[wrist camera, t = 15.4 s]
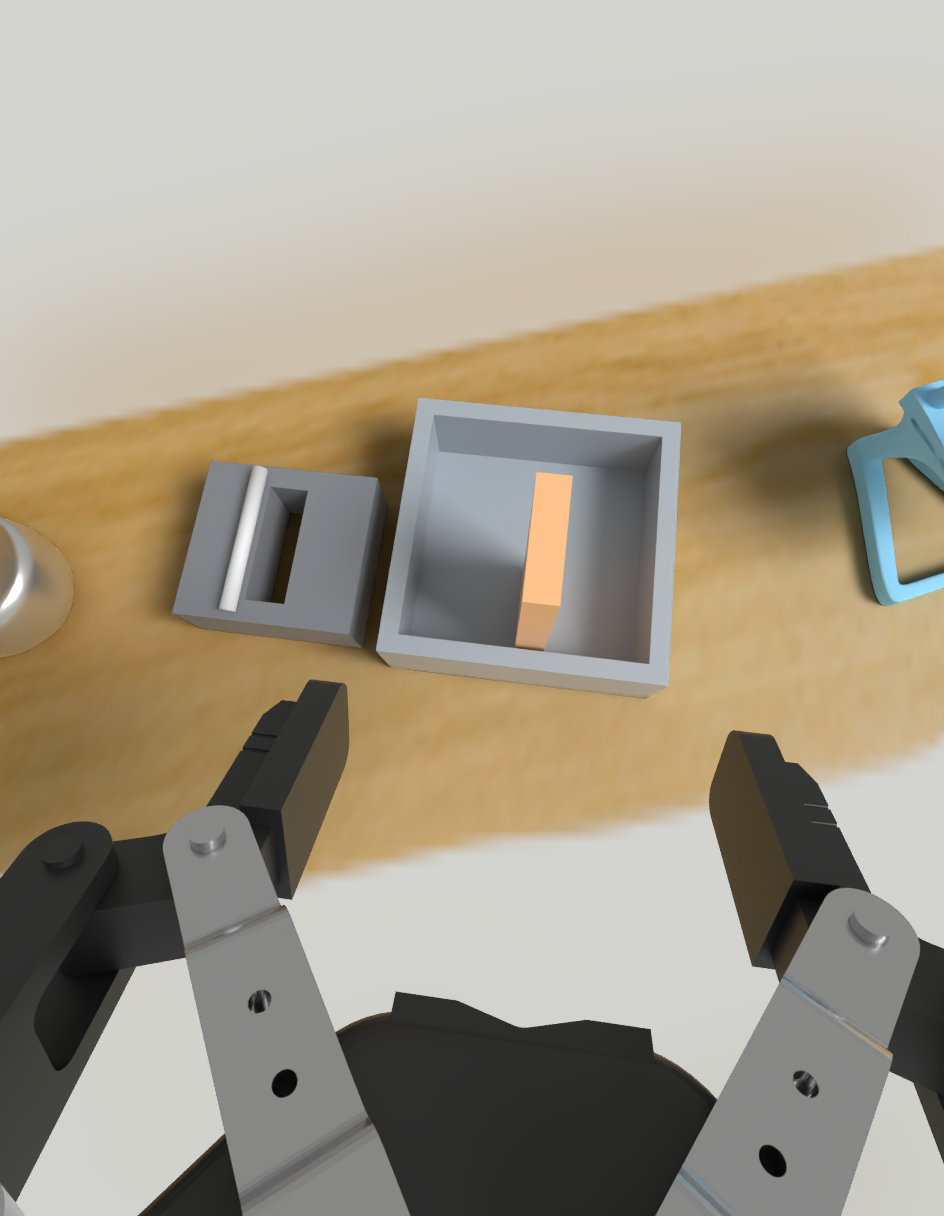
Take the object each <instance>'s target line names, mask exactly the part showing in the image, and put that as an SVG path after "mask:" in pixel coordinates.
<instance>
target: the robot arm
mask: <svg viewBox="0 0 944 1216" xmlns="http://www.w3.org/2000/svg"><path fill="white" fill-rule="evenodd" d="M348 749H349V721H348V698H347V687H346V685H345V684H344V683H337V682H328V681H320V680H309V681H308V683H307V684H306V686H305V688H304V689H303V691H302V693H301V695H300V697H299V698H298V700H297V702H293V701H284V700H282V701H280V702H279V703H278V704H276V705H275V706H274V707H272V708H271V709H270V710H268V711H267V712H266V713H264V714H263V715H262V717H261V718H260V720H259V722H258V723H257V725H256V727H255V728H254V730H253V732H252V735H251V736H249V738H248V740H247V741H246V743H245V745H244V746H243V750H242V751H240V753H239V754H238V756H237V758H236V759H235V761H234V762H233V764H232V766H231V767H230V769H229V771H228V772H227V774H226V775H225V777H224V779H223V780H222V782H221V784H220V785H219V787H218V789H217V790H216V792H215V793H214V795H213V797H212V798H211V800H210V802H209V803H208V805H207V806H206V807H203V808H200V809H197V810H195V811H192V812H190V813H188V814H187V815H185V816H183V817H182V818H181V819H179V820H178V821H177V822H176V823H175V824H174V825H173V826H172V827H171V828H170V829H169V831H168V833H165V834H161V835H156V836H150V837H142V838H135V839H128V840H121V841H112V837H111V835H110V833H109V831H108V830H107V829H106V828H105V827H103V826H102V825H100V824H97V823H94V822H72V823H68V824H64V825H61V826H58V827H55V828H53V829H51V830H49V831H47V832H45V833H43V834H42V835H40V836H39V837H37V838H36V839H34V840H33V841H32V842H31V843H30V844H28V845H27V846H26V847H25V849H24V850H23V851H22V852H21V853H20V854H19V856H18V857H17V858H16V859H15V861H14V862H13V863H12V864H11V866H10V867H9V868H8V869H7V871H6V872H5V873H4V875H3V876H2V877H1V878H0V1216H24V1214H23V1212H22V1211H21V1210H20V1208H19V1207H18V1206H17V1204H16V1201H17V1199H18V1197H19V1195H20V1193H21V1191H22V1189H23V1187H24V1185H25V1183H26V1181H27V1179H28V1177H29V1175H30V1173H31V1171H32V1169H33V1167H34V1165H35V1164H36V1162H37V1159H38V1158H39V1156H40V1154H41V1152H42V1150H43V1148H44V1146H45V1144H46V1142H47V1140H48V1138H49V1136H50V1134H51V1132H52V1130H53V1128H54V1126H55V1124H56V1122H57V1120H58V1118H59V1117H60V1115H61V1113H62V1111H63V1108H64V1106H65V1105H66V1103H67V1101H68V1099H69V1097H70V1095H71V1093H72V1091H73V1089H74V1087H75V1085H76V1083H77V1081H78V1079H79V1077H80V1075H81V1073H82V1072H83V1070H84V1068H85V1066H86V1064H87V1062H88V1060H89V1057H90V1055H91V1054H92V1052H93V1050H94V1048H95V1046H96V1044H97V1042H98V1040H99V1038H100V1036H101V1034H102V1032H103V1030H104V1028H105V1026H106V1025H107V1023H108V1021H109V1019H110V1017H111V1015H112V1013H113V1011H114V1009H115V1007H116V1005H117V1003H118V1001H119V999H120V997H121V995H122V993H123V991H124V989H125V987H126V985H127V983H128V981H129V979H130V977H131V976H132V974H133V972H134V970H135V968H136V966H142V965H147V964H153V963H158V962H164V961H169V960H175V959H180V958H186V960H187V965H188V970H189V974H190V979H191V983H192V988H193V992H194V996H195V1000H196V1006H197V1010H198V1015H199V1019H200V1023H201V1028H202V1032H203V1037H204V1041H205V1046H206V1050H207V1055H208V1059H209V1064H210V1068H211V1073H212V1077H213V1082H214V1086H215V1091H216V1095H217V1100H218V1104H219V1108H220V1113H221V1117H222V1122H223V1126H224V1130H225V1134H224V1135H222V1136H221V1137H220V1138H219V1139H218V1140H217V1141H216V1142H215V1143H214V1144H213V1145H212V1146H211V1147H210V1148H209V1149H208V1150H207V1151H206V1152H205V1153H203V1155H201V1156H200V1157H199V1158H198V1159H197V1160H196V1161H195V1162H194V1163H193V1164H192V1165H191V1166H190V1167H189V1168H188V1169H187V1170H186V1171H184V1172H183V1174H181V1175H180V1176H179V1177H178V1178H177V1179H176V1180H175V1181H174V1182H173V1183H172V1184H171V1185H170V1186H169V1187H168V1188H167V1189H166V1190H165V1191H163V1192H162V1193H161V1194H160V1195H159V1196H158V1197H157V1198H156V1199H155V1200H154V1201H153V1202H152V1203H151V1204H150V1205H149V1206H148V1207H147V1208H145V1210H143V1211H142V1212H141V1213H140V1214H139V1215H138V1216H841V1214H842V1210H843V1208H844V1204H845V1202H846V1199H847V1195H848V1193H849V1189H850V1187H851V1184H852V1181H853V1178H854V1175H855V1171H856V1168H857V1166H858V1162H859V1160H860V1156H861V1153H862V1151H863V1147H864V1145H865V1142H866V1139H867V1136H868V1133H869V1129H870V1127H871V1124H872V1121H873V1118H874V1115H875V1111H876V1108H877V1106H878V1102H879V1100H880V1096H881V1094H882V1091H883V1088H884V1085H885V1082H886V1079H887V1076H888V1073H889V1071H890V1072H892V1073H894V1074H896V1075H899V1076H901V1077H903V1078H905V1079H907V1080H910V1081H911V1082H913V1083H914V1086H915V1088H916V1091H917V1094H918V1096H919V1099H920V1102H921V1104H922V1107H923V1110H924V1112H925V1115H926V1118H927V1120H928V1123H929V1126H930V1128H931V1131H932V1134H933V1136H934V1139H935V1142H936V1144H937V1147H938V1150H939V1152H940V1155H941V1158H942V1160H943V1163H944V949H943V948H941V947H938V946H936V945H933V944H930V943H928V942H926V941H924V940H922V939H920V938H918V937H917V935H916V933H915V931H914V929H913V928H912V926H911V925H910V923H909V922H908V921H907V920H906V918H905V917H904V916H903V915H902V914H901V913H900V912H899V911H898V910H897V909H895V908H894V907H893V906H891V905H890V904H889V903H887V902H886V901H884V900H883V899H881V898H879V897H877V896H875V895H873V894H871V892H870V890H869V888H868V886H867V884H866V882H865V879H864V878H863V875H862V873H861V871H860V869H859V867H858V865H857V863H856V861H855V859H854V857H853V855H852V853H851V851H850V849H849V847H848V845H847V843H846V841H845V839H844V837H843V835H842V832H841V830H840V828H837V822H836V820H835V818H834V816H833V814H832V812H831V810H829V809H828V804H827V802H826V800H825V798H824V796H823V794H822V792H821V790H820V788H819V786H818V784H817V783H816V782H815V781H814V780H813V778H812V777H811V776H810V775H809V774H808V773H807V772H806V771H805V770H804V769H803V768H802V767H801V766H800V765H799V764H798V763H790V762H785V761H784V758H783V756H782V754H781V752H780V749H779V747H778V745H777V743H776V741H775V739H774V737H773V736H772V735H768V734H760V733H752V732H743V731H735V730H733V731H731V732H730V733H729V735H728V737H727V740H726V743H725V745H724V748H723V751H722V754H721V757H720V760H719V763H718V766H717V769H716V772H715V775H714V778H713V781H712V784H711V788H710V795H709V807H710V815H711V819H712V822H713V826H714V830H715V833H716V837H717V840H718V844H719V848H720V851H721V855H722V858H723V862H724V866H725V869H726V873H727V876H728V880H729V884H730V888H731V891H732V895H733V898H734V902H735V906H736V909H737V913H738V917H739V920H740V924H741V927H742V931H743V935H744V938H745V942H746V945H747V949H748V953H749V956H750V960H751V964H752V966H755V967H761V968H768V969H775V970H776V973H777V977H778V980H779V985H778V987H777V989H776V991H775V993H774V995H773V996H772V998H771V1000H770V1002H769V1004H768V1006H767V1008H766V1010H765V1011H764V1013H763V1015H762V1017H761V1019H760V1021H759V1023H758V1025H757V1026H756V1028H755V1030H754V1032H753V1034H752V1036H751V1038H750V1040H749V1042H748V1043H747V1045H746V1047H745V1049H744V1051H743V1053H742V1055H741V1057H740V1058H739V1060H738V1062H737V1064H736V1066H735V1068H734V1070H733V1072H732V1073H731V1075H730V1077H729V1079H728V1081H727V1083H726V1085H725V1087H724V1088H723V1090H722V1092H721V1094H720V1096H719V1098H718V1100H717V1099H716V1098H715V1097H714V1096H713V1095H712V1094H711V1093H710V1092H709V1090H708V1089H707V1088H705V1087H704V1086H703V1085H702V1084H701V1083H700V1082H699V1081H698V1080H697V1079H695V1078H694V1077H693V1076H692V1075H691V1074H689V1073H688V1072H686V1071H685V1070H684V1069H682V1068H681V1067H680V1066H678V1065H676V1064H675V1063H673V1062H671V1061H670V1060H668V1059H666V1058H665V1057H663V1056H661V1055H658V1054H656V1053H654V1052H653V1044H652V1036H651V1029H645V1028H638V1027H631V1026H624V1025H618V1024H611V1023H605V1022H597V1021H591V1020H582V1021H575V1022H568V1023H559V1024H552V1025H545V1026H537V1027H529V1028H520V1027H517V1026H514V1025H511V1024H509V1023H507V1022H504V1021H502V1020H500V1019H498V1018H496V1017H493V1016H491V1015H489V1014H486V1013H484V1012H482V1011H479V1010H477V1009H475V1008H473V1007H470V1006H468V1005H466V1004H464V1003H461V1002H459V1001H456V1000H449V999H442V998H435V997H429V996H422V995H415V994H409V993H401V992H396V993H395V998H394V1003H393V1008H392V1012H387V1013H380V1014H376V1015H373V1016H369V1017H366V1018H363V1019H360V1020H358V1021H356V1022H353V1023H351V1024H349V1025H347V1026H345V1027H344V1028H342V1029H340V1030H338V1031H337V1032H335V1031H334V1028H333V1025H332V1023H331V1020H330V1018H329V1015H328V1012H327V1010H326V1007H325V1005H324V1002H323V999H322V997H321V994H320V992H319V989H318V987H317V984H316V981H315V979H314V976H313V973H312V971H311V968H310V966H309V963H308V960H307V958H306V955H305V953H304V950H303V947H302V945H301V942H300V939H299V937H298V934H297V932H296V929H295V926H294V924H293V921H292V919H291V916H290V914H289V912H288V910H287V908H286V906H285V905H283V906H281V905H280V903H279V900H278V898H284V899H291V900H292V898H293V896H294V893H295V891H296V888H297V886H298V883H299V881H300V878H301V876H302V873H303V871H304V868H305V866H306V863H307V861H308V858H309V856H310V853H311V850H312V848H313V845H314V843H315V840H316V838H317V835H318V833H319V830H320V828H321V825H322V823H323V820H324V818H325V815H326V813H327V810H328V808H329V805H330V803H331V800H332V798H333V795H334V793H335V790H336V787H337V785H338V782H339V780H340V777H341V775H342V772H343V770H344V767H345V764H346V760H347V755H348Z"/></svg>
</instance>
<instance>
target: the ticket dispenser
mask: <svg viewBox="0 0 944 1216" xmlns="http://www.w3.org/2000/svg"><path fill="white" fill-rule="evenodd" d="M387 506H388V504H387V502H386V499H385V496H384V494H383V491H382V489H381V486H380V483H379V481H378V478H374V477H365V476H355V475H345V474H336V473H326V472H316V471H306V470H297V469H287V468H277V467H268V466H258V465H248V464H239V463H229V462H219V461H211V463H210V467H209V471H208V475H207V479H206V482H205V486H204V490H203V494H202V498H201V502H200V506H199V510H198V514H197V517H196V521H195V525H194V529H193V533H192V537H191V541H190V545H189V548H188V552H187V556H186V560H185V564H184V568H183V572H182V576H181V580H180V583H179V587H178V591H177V595H176V599H175V603H174V607H173V611H172V613H173V614H175V615H176V616H178V617H180V618H182V619H184V620H186V621H188V622H190V623H192V624H193V625H195V626H197V627H199V628H201V629H208V630H216V631H224V632H232V633H241V634H249V635H257V636H265V637H274V638H282V639H290V640H299V641H307V642H315V643H323V644H332V645H340V646H348V647H356V648H363V642H364V637H365V631H366V625H367V620H368V614H369V608H370V603H371V597H372V591H373V585H374V580H375V574H376V568H377V563H378V557H379V551H380V546H381V540H382V534H383V529H384V523H385V517H386V511H387ZM290 513H297V514H303V517H302V522H301V527H300V531H299V536H298V541H297V546H296V550H295V555H294V560H293V564H292V569H291V574H290V579H289V583H288V588H287V593H286V598H285V602H284V604H279V603H271V599H272V594H273V589H274V585H275V580H276V576H277V571H278V566H279V562H280V557H281V553H282V548H283V543H284V539H285V534H286V530H287V525H288V520H289V516H290Z"/></svg>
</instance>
